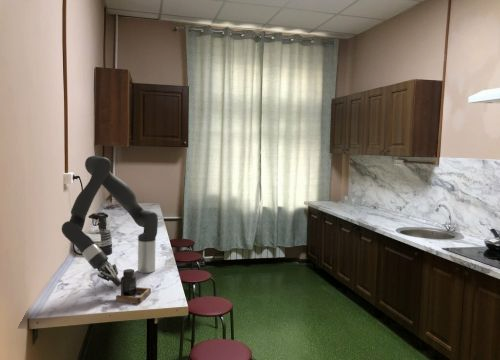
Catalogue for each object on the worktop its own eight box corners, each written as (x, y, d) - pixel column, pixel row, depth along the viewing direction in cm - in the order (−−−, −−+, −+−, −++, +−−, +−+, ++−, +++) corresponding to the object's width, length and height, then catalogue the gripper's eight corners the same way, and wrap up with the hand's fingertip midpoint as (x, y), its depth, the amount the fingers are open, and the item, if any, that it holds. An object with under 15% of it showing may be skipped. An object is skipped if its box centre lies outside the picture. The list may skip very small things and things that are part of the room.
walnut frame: (128, 291, 181) (128, 286, 181) (150, 293, 179) (150, 288, 179) (116, 301, 169) (116, 295, 169) (139, 303, 167) (140, 298, 167)
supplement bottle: (135, 292, 179) (136, 267, 178) (136, 298, 173) (137, 272, 172) (120, 293, 177) (121, 268, 176) (120, 299, 171) (121, 273, 170)
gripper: (92, 254, 168) (118, 284, 167) (108, 247, 181) (131, 275, 180) (81, 265, 169) (106, 295, 168) (97, 257, 182) (121, 285, 181)
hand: (119, 284), depth 174 cm, fingers closed
